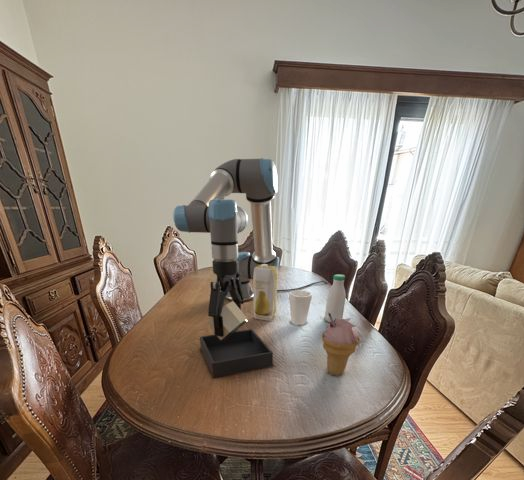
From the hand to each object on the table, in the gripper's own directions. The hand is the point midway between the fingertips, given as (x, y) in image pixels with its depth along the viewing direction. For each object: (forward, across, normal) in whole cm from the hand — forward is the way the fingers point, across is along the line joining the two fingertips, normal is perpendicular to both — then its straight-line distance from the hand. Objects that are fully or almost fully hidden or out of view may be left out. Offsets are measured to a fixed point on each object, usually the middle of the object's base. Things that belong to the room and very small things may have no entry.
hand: (228, 328), depth 93 cm
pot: (-2, 0, 0) cm, 2 cm away
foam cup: (+11, -39, +12) cm, 43 cm away
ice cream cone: (+11, -5, +35) cm, 37 cm away
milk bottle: (+11, -48, +26) cm, 56 cm away
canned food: (+11, -32, +31) cm, 46 cm away
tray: (+11, 0, +2) cm, 11 cm away
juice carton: (+11, -38, -3) cm, 39 cm away
